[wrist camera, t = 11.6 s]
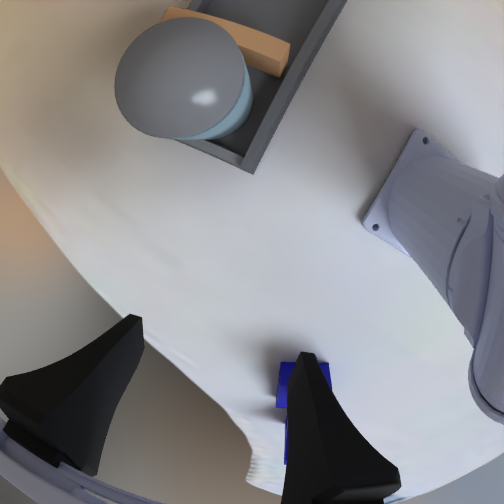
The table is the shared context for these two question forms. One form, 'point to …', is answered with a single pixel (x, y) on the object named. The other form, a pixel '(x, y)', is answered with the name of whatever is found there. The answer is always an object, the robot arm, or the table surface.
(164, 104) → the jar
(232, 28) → the bar
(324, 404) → the robot arm
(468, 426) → the table surface
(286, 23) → the tray
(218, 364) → the table surface
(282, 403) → the cable clip
